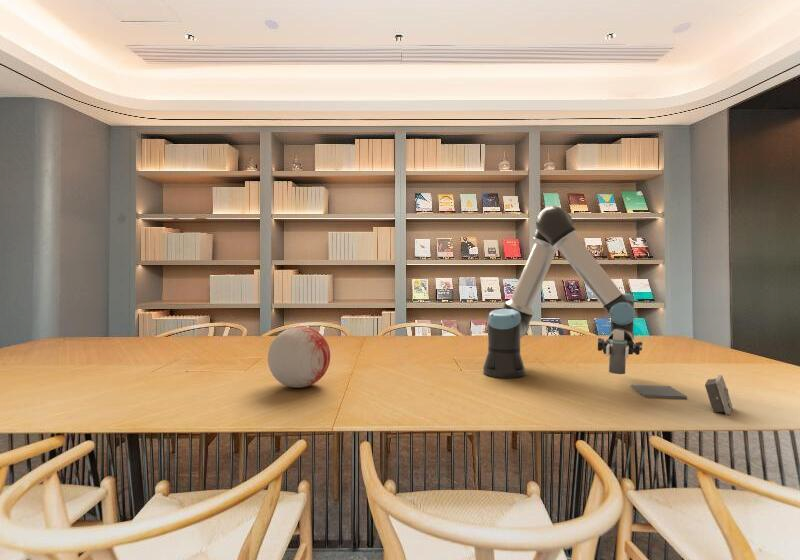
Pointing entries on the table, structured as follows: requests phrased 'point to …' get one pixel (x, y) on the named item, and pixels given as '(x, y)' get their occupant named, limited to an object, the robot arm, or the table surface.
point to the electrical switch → (718, 395)
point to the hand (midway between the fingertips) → (617, 352)
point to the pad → (658, 391)
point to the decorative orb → (298, 357)
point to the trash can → (617, 353)
